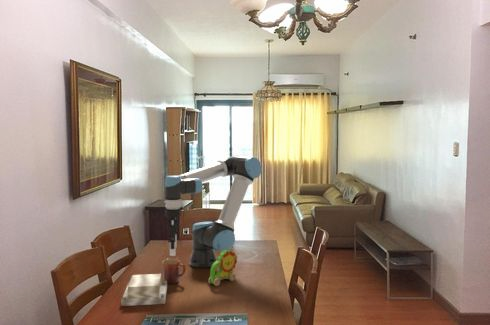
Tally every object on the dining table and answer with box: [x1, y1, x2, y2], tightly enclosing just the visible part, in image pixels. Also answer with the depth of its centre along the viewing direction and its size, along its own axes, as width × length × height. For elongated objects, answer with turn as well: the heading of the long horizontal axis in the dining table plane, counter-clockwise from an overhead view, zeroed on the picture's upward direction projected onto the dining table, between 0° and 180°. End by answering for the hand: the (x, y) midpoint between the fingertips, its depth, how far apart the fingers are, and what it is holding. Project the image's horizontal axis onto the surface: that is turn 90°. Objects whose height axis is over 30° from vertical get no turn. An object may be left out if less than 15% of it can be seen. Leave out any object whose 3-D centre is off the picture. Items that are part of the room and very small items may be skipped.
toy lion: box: [208, 249, 238, 287], centre depth 205 cm, size 16×5×15 cm, turn 134°
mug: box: [161, 258, 187, 285], centre depth 204 cm, size 12×9×10 cm
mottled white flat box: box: [120, 273, 168, 307], centre depth 186 cm, size 18×18×8 cm
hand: (173, 251), depth 203 cm, fingers open, 13 cm apart
